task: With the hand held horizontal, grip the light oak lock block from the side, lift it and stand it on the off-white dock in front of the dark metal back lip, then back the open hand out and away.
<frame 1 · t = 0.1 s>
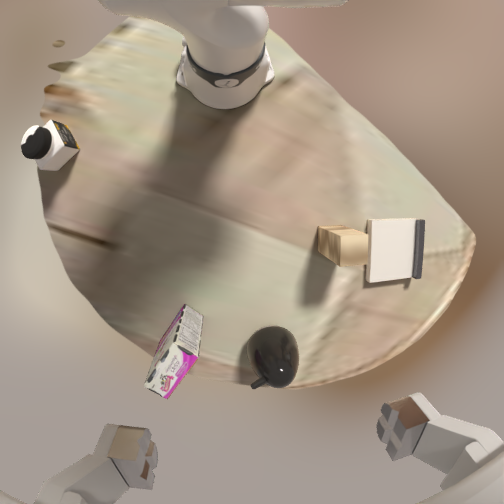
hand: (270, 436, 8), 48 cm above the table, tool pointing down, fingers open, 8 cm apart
oak lock block: (329, 238, 57), on the table
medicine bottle: (62, 148, 48), on the table
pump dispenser: (268, 339, 60), on the table
dock: (392, 248, 59), on the table
candy bar box: (181, 328, 58), on the table
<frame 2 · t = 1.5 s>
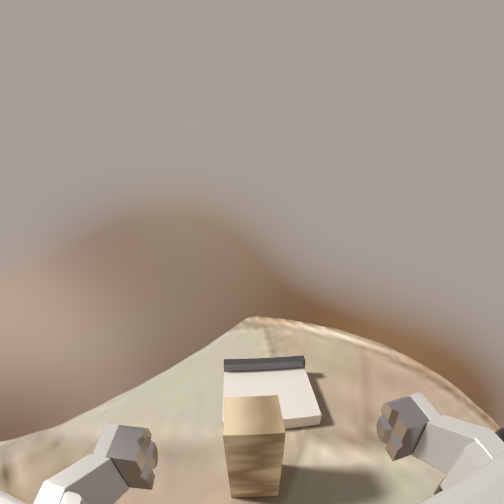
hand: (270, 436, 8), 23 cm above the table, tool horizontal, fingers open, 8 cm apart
oak lock block: (253, 480, 25), on the table
dock: (267, 399, 40), on the table
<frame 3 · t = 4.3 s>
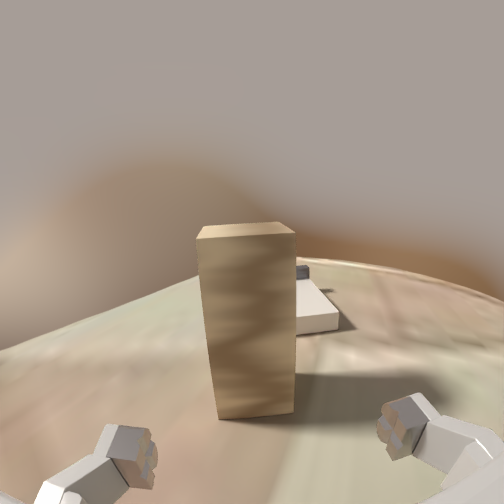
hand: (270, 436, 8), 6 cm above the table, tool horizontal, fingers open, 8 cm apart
oak lock block: (253, 394, 20), on the table
dock: (267, 311, 34), on the table
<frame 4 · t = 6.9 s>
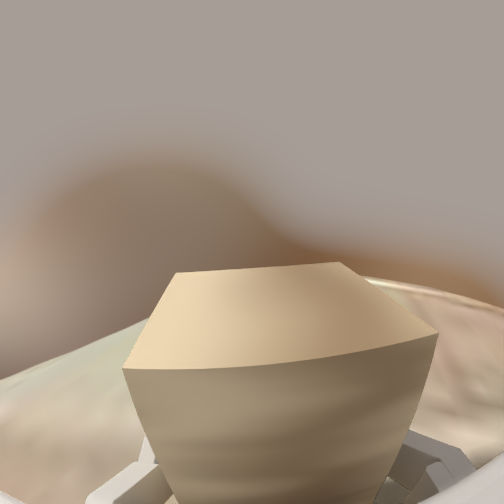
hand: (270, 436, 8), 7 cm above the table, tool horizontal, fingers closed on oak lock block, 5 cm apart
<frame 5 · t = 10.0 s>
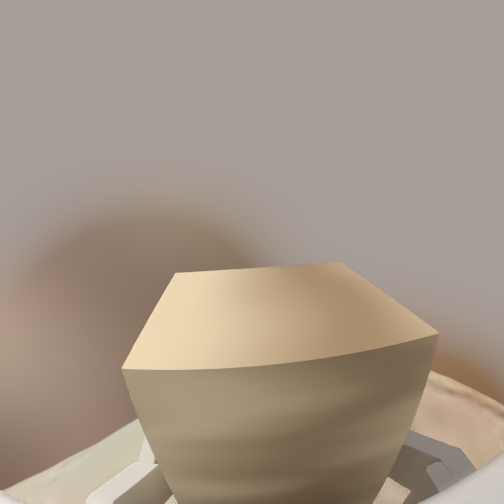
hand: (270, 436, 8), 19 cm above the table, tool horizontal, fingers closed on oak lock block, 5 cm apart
when the fingers open (9 cm above the table, at t = 13.3 s): oak lock block stays where it is, resting on dock.
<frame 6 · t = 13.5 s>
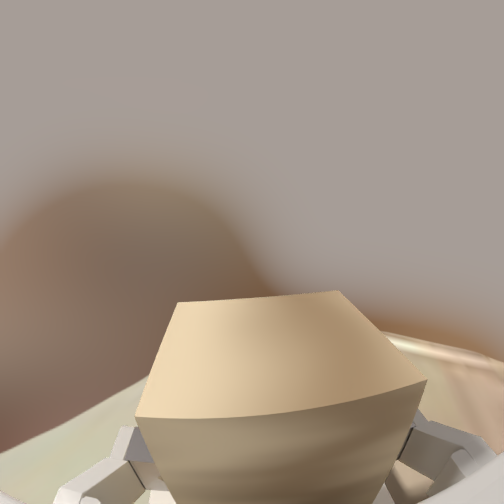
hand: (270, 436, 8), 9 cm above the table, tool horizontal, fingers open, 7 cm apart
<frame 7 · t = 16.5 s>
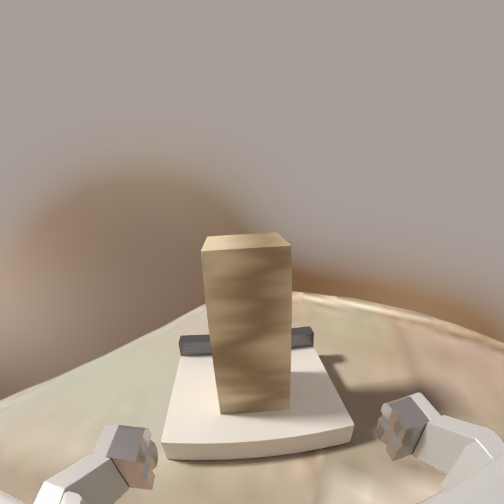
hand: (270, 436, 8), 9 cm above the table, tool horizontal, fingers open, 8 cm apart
oak lock block: (252, 391, 21), point 2 cm above the table, touching dock
dock: (252, 401, 23), on the table
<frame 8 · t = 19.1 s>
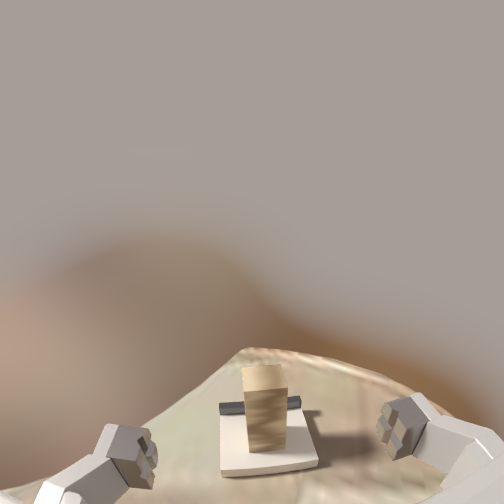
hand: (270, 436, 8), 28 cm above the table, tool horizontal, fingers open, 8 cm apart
oak lock block: (265, 439, 35), point 2 cm above the table, touching dock
dock: (264, 441, 37), on the table
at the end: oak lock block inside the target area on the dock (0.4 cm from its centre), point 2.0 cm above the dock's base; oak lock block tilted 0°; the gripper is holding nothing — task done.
